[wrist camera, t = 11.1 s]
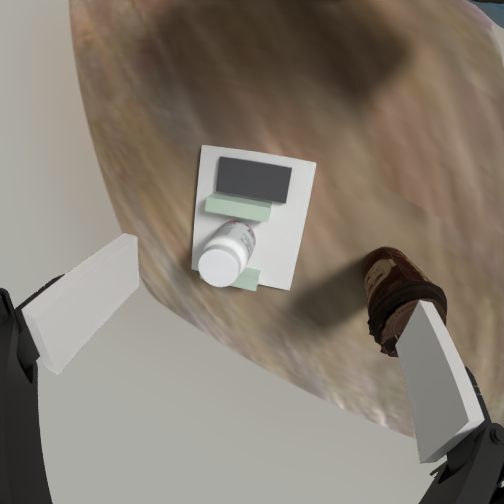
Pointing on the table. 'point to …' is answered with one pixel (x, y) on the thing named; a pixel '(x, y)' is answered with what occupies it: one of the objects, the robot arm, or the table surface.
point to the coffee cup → (396, 295)
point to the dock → (266, 233)
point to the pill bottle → (227, 253)
